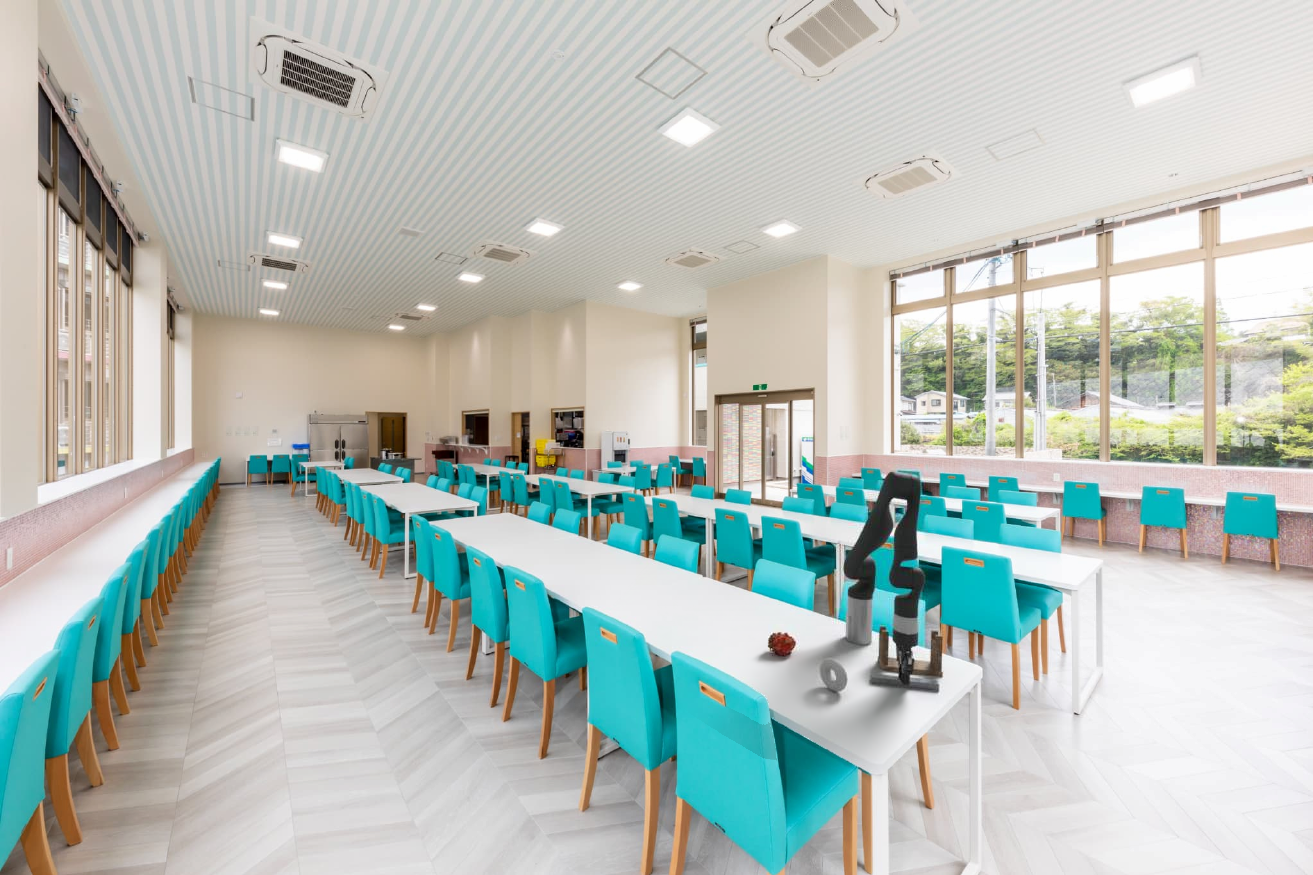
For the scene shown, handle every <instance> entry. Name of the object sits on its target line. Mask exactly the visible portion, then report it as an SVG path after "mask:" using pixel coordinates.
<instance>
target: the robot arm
mask: <svg viewBox="0 0 1313 875" xmlns="http://www.w3.org/2000/svg"><path fill="white" fill-rule="evenodd" d="M921 495H922V483H921V480H920V478H919V476H918V475H916V474H912V473H907V472H900V471H890V472H887V474H886V476H885V478H884V480H883V482H882V484H881V488H880V490H879V493H878V496H877V498H876V502H875V503H874V505H873V508H872V510H871V512H870V514H869V516H868V517H867V519H866V521H865V523H864V526H863V528H862V530H861V532H860V534H859V536H858V538H857V540H856V542H855V543H854V545H853V547H852V548H851V549H850V551H849V552H848V554H847V555H846V557H845V559H844V562H843V567H842V569H843V574H844V575H845V577H846V578H847V579H850V580H851V581H852V580H853V581H854V580H855V581H856V580H857V582H855V584H852V585H851V586H849V587H848V589H847V602H846V603H847V605H846V606H847V609H846V610H847V611H846V613H845V638H846V641H847V642H850V643H853V644H855V645H870V644H871V643H872V638H873V606H874V605H873V604H874V603H873V600H874V599H873V598H874V593H875V590H876V578H877V565H876V562H875V559H874V558H873V557H872V556H871V555H872V553H874V552H875V551H877V550H878V549H880V548H882V547H883V546H884V544H886V542H887V541H888V539H889V538H890V536H891V534H892V532H893V530H894V527H895V526H894V519H893V517H892V514H891V513H892V512H891V511H890V504H891V502H892V500H893V499H898V500H902V501H906V509H905V513H904V514H903V516H902V518H901V519H900V521H899V522H898V524H897V525H896V527H895V530H894V533H893V560H892V563H891V568H890V570H889V574H888V581H889V583H890V585H891V587H893V588H895V589H903V590H910V591H909V592H908V593H903V594H902V593H901V594H898V595H896V596H894V600H893V602H894V603H893V615H892V616H893V618H892V638H891V639H892V642H893V643H894V644H895V651H896V654H895V655H896V658H897V659H896V660H897V661H898V666H899V672H897V673H898V675H897V676H901V677H902V684H903V685H910V677H911V675H913V674H914V673H913V667H914V661H915V660H916V659H915V658H914V651H913V650H912V648H914V647H917V646H918V645H919V603H920V602H919V601H920V598H921V594H922V591H923V589H924V586H925V583H926V575H925V574H926V573H925V572H924V571H923V570H922V569H921V568H919V567H915V566H904V565H902V563H904V562H910V561H915V560H917V558H918V555H919V553H918V520H919V514H920V507H921V506H920V504H921V503H920V502H921ZM907 668H908V669H907Z"/></svg>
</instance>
